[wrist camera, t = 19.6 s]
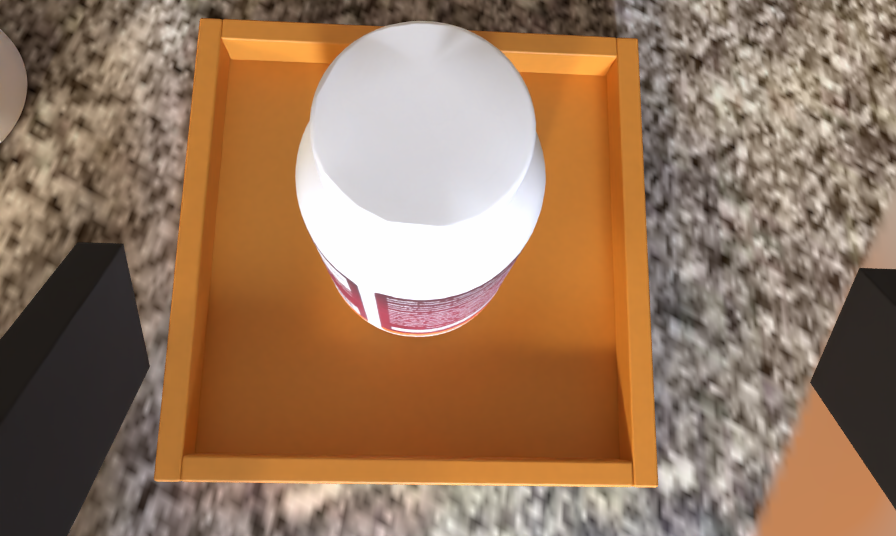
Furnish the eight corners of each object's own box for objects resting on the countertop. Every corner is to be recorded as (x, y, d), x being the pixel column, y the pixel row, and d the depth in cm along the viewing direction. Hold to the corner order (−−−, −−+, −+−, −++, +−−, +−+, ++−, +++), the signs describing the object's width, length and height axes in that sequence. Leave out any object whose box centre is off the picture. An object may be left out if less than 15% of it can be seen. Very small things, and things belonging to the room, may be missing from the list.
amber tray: (621, 65, 28) (638, 37, 26) (637, 482, 25) (659, 487, 23) (214, 47, 27) (199, 16, 25) (174, 476, 24) (152, 481, 22)
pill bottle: (531, 210, 26) (621, 57, 15) (463, 368, 25) (511, 323, 14) (373, 142, 26) (352, -57, 15) (297, 295, 25) (216, 194, 14)
